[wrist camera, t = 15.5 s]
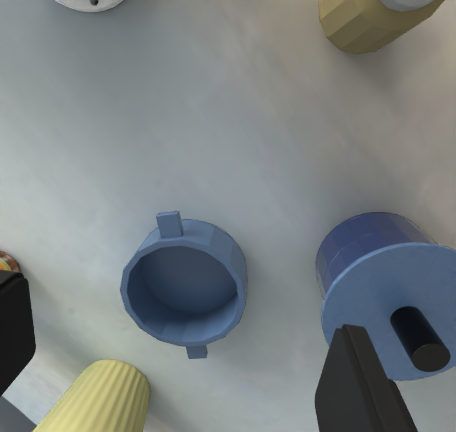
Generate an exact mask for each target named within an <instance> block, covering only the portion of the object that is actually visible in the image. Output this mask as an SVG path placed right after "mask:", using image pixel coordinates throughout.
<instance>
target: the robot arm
mask: <svg viewBox="0 0 456 432" xmlns="http://www.w3.org/2000/svg"><path fill="white" fill-rule="evenodd" d="M55 1H57V2H58V3H60V4H62V5H64V6H66V7H69V8H71V9H74V10H78V11H81V12H91V13H93V12H101V11H105V10H108V9H110V8H113V7H115V6H116V5H118V4H119V3H121V2H122V1H124V0H98V4H96V1H97V0H55ZM35 350H36V343H35V335H34V326H33V318H32V309H31V300H30V292H29V283H28V280H27V279H26V278H24V275H23V274H22V273H20V272H14V271H8V270H0V396H1V395H2V394H3V393H4V392H5V391H6V389H7V388H8V387H9V386H10V385H11V383H12V382H13V381H14V380H15V379H16V377H17V376H18V375H19V374H20V372H21V371H22V370H23V369H24V368H25V366H26V365H27V364H28V363H29V362H30V360H31V359H32V358H33V356H34V353H35ZM315 409H316V415H317V420H318V426H319V432H418V431H417V428H416V426H415V424H414V422H413V420H412V417H411V415H410V413H409V411H408V409H407V407H406V404H405V402H404V400H403V398H402V396H401V393H400V391H399V389H398V387H397V385H396V384H395V382H394V381H393V380H391V379H388V378H387V376H386V373H385V371H384V369H383V367H382V364H381V362H380V360H379V357H378V355H377V353H376V351H375V348H374V346H373V344H372V341H371V339H370V337H369V335H368V332H367V330H366V329H365V327H362V326H356V325H350V324H343V326H342V327H341V328H336V329H335V332H334V335H333V338H332V341H331V345H330V348H329V351H328V354H327V358H326V361H325V364H324V367H323V371H322V374H321V377H320V380H319V384H318V387H317V390H316V394H315Z"/></svg>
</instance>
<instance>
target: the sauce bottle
mask: <svg viewBox="0 0 456 432" xmlns="http://www.w3.org/2000/svg"><path fill="white" fill-rule="evenodd" d="M0 270H8V271H14V272H20V271H19V267H18V264H17V263H16V261H15V260H14V259H13V258H11V257H10V256H9V255H7V254H5V253H4V252H2V251H0Z"/></svg>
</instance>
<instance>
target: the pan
mask: <svg viewBox="0 0 456 432" xmlns="http://www.w3.org/2000/svg"><path fill="white" fill-rule="evenodd" d="M156 218H157V222H158V226H159V228H157V229H155V230H154V231H153V232H151V233H150V234H149V235H148V237H147V238H146V239H145V241H144V242H143V243H142V245H141V246H140V248H139V249H138V250H137V252H136V253H135V254H134V256H133V257H132V258H131V260H130V261H129V263H128V264H127V265H126V267H125V268H124V270H123V275H122V281H121V287H120V292H121V295H122V299H123V302H124V306H125V309H126V311H127V313H128V314H129V315H130V316H131V318H132V319H133V320H134V321H135V323H136V324H137V325H138V326H139V328H140V329H142V330H144V331H145V332H147V333H148V334H150V335H151V336H153V337H155V338H156V339H158V340H160V341H163V342H167V343H171V344H175V345H178V346H186V349H187V353H188V358H189V359H196V358H207V353H208V352H207V347H206V344H209V343H211V342H214V341H216V340H219V339H221V338H224V337H225V336H226V335H227V334H228V333H229V332H230V331H231V330H232V329H233V328H234V327H235V326H236V325H237V324H238V323H239V322H240V319H241V316H242V313H243V310H244V307H245V304H246V292H247V270H246V263H245V258H244V256H243V253H242V251H241V250H240V248H239V246H238V245H237V243H236V242H235V241H234V240H233V239H232V238H231V237H230V236H229V235H228V234H227V233H226V232H224V231H223V230H221V229H220V228H218V227H216V226H214V225H212V224H209V223H206V222H203V221H198V220H181V217H180V212H179V211H174V212H164V213H158V214H157V216H156Z"/></svg>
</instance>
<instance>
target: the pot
mask: <svg viewBox="0 0 456 432" xmlns="http://www.w3.org/2000/svg"><path fill="white" fill-rule="evenodd" d="M413 242H423V243H433V244H438V243H437V242H436V241H435V240H434V239H433V238H431V237H430V236H429V235H428V234H427V233H426V232H425V231H424V230H422V229H421V228H420V227H419V226H418V225H416V224H415V223H413V222H412V221H410V220H408V219H406V218H404V217H402V216H399V215H396V214H392V213H385V212H372V213H366V214H362V215H358V216H355V217H353V218H350V219H348V220H346V221H344V222H343V223H341V224H340V225H338V226H337V227H336V228H334V229H333V230H332V231H331V232H330V233H329V234H328V235H327V237H326V238H325V239H324V241H323V242H322V244H321V246H320V248H319V251H318V254H317V258H316V275H317V280H318V283H319V287H320V290H321V293H322V297H323V300H324V299H325V297H326V294H327V292H328V290H329V288H330V287H331V285H332V284H333V282H334V281H335V279H336V278H337V277H338V276H339V275H340V274H341V273H342V272H343V271H344V270H345V269H346V268H347V267H348V266H349V265H351V264H352V263H353V262H355V261H356V260H358V259H359V258H361V257H363V256H365V255H367V254H369V253H371V252H373V251H375V250H378V249H381V248H384V247H387V246H391V245H395V244H402V243H413ZM438 245H439V244H438Z"/></svg>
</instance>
